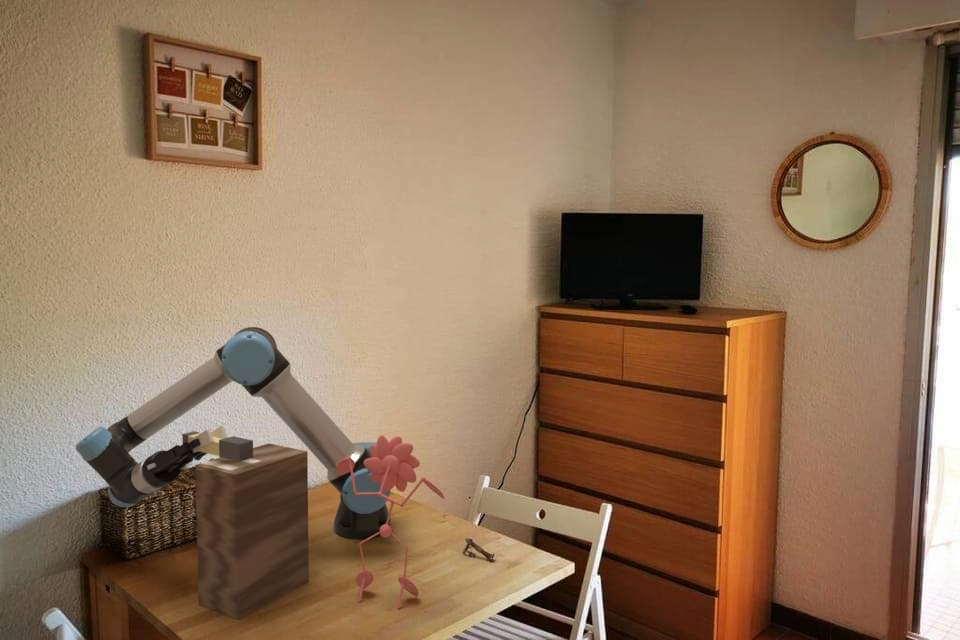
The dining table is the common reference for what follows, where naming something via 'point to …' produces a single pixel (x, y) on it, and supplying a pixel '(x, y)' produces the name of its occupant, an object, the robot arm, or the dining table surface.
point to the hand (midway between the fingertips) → (217, 433)
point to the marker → (225, 447)
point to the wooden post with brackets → (476, 550)
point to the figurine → (391, 470)
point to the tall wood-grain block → (252, 529)
